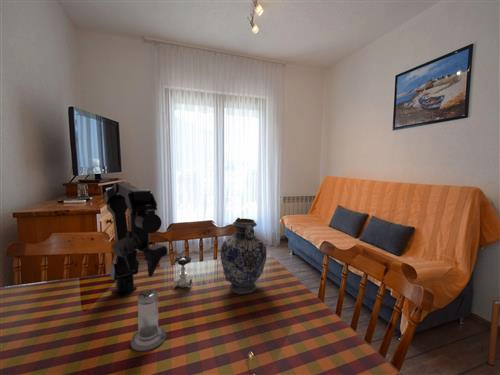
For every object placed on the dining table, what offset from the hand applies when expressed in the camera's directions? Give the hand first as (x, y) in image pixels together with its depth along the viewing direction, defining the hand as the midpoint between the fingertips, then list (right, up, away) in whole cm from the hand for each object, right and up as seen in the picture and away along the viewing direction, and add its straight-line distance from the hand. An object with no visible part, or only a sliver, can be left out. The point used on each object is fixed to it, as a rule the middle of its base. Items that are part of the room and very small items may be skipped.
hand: (140, 273), depth 77 cm
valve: (+9, -12, +17) cm, 23 cm away
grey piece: (+8, -13, -12) cm, 19 cm away
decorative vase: (+34, -13, +18) cm, 40 cm away
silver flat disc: (+8, -14, -12) cm, 20 cm away
